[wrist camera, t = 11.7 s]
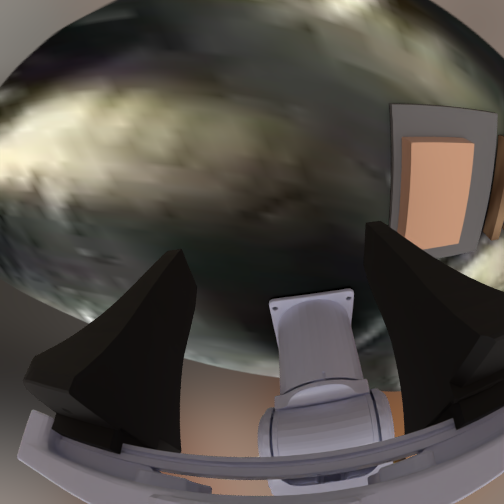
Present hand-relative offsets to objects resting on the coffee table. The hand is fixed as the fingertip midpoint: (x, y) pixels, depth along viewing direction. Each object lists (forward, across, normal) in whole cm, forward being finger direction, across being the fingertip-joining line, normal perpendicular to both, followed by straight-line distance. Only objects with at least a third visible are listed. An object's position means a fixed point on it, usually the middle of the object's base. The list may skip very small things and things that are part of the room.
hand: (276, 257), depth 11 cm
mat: (+10, -14, +3) cm, 18 cm away
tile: (+9, -16, +3) cm, 18 cm away
